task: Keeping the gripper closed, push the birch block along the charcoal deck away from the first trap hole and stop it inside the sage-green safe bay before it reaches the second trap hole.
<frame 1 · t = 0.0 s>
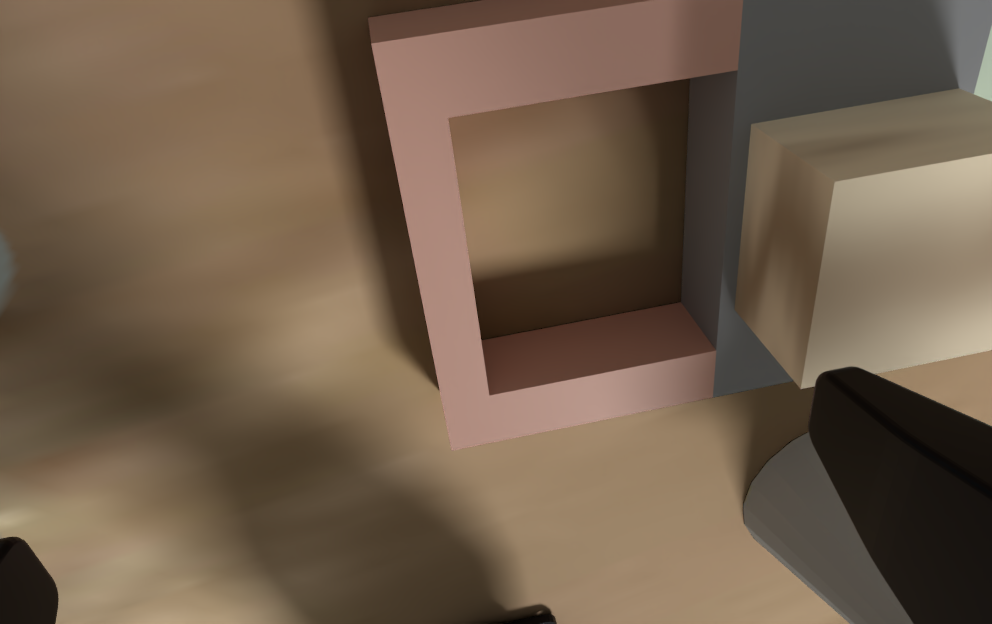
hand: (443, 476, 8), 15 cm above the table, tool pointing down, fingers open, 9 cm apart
lava lamp: (830, 484, 33), on the table
deck: (915, 145, 24), on the table
block: (839, 206, 21), point 3 cm above the table, touching deck
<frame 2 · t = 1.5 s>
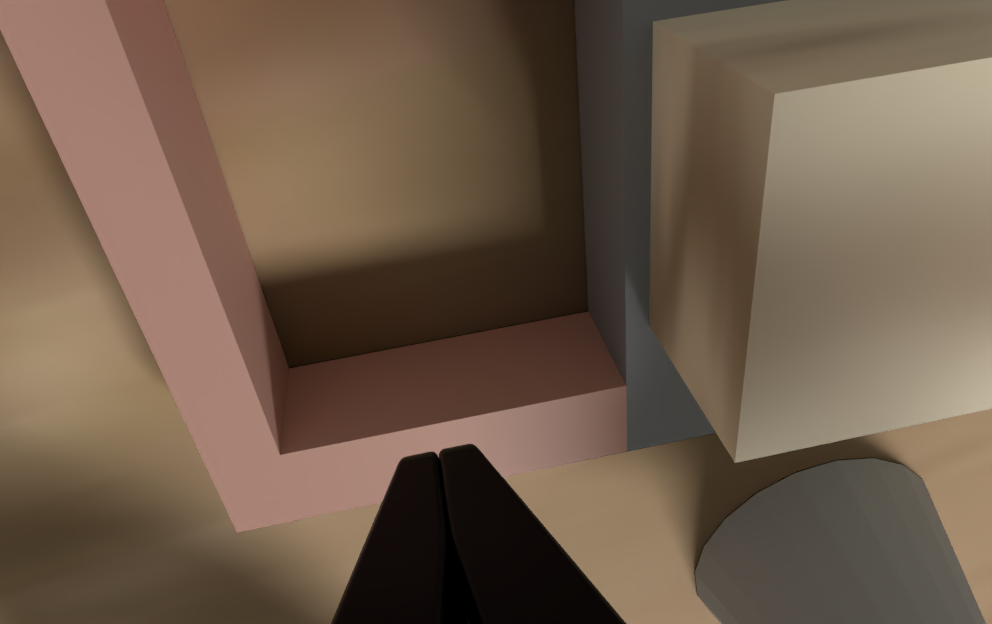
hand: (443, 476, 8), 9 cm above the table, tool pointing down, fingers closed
lava lamp: (809, 544, 26), on the table
deck: (923, 82, 16), on the table
block: (805, 165, 14), point 3 cm above the table, touching deck
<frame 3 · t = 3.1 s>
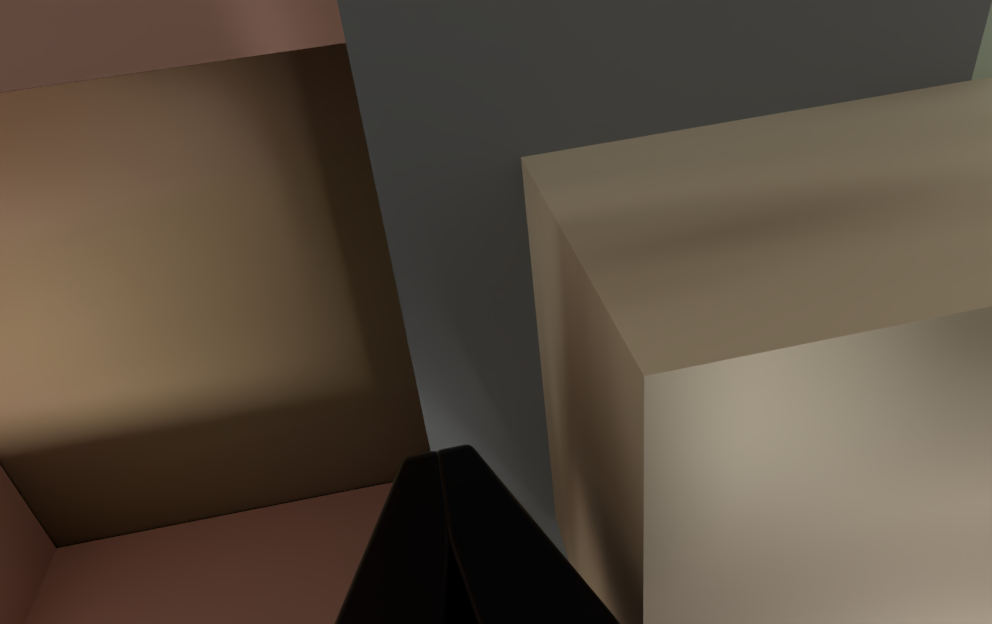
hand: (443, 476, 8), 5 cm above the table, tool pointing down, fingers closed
deck: (856, 203, 13), on the table
block: (754, 326, 10), point 3 cm above the table, touching deck, gripper
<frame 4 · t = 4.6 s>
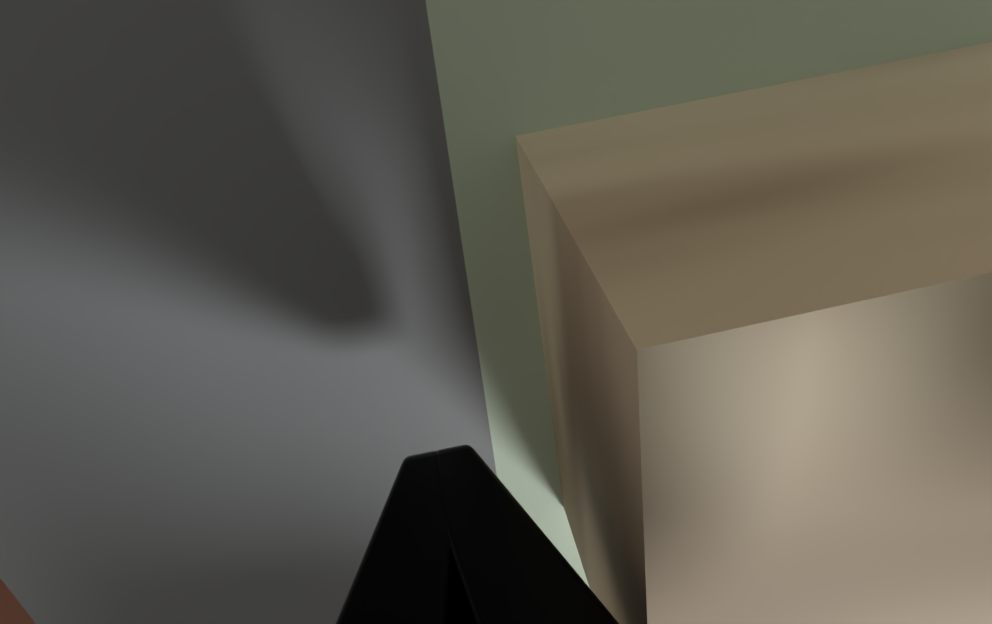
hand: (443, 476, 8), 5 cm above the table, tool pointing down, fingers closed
deck: (514, 260, 12), on the table
block: (761, 306, 10), point 3 cm above the table, touching deck, gripper
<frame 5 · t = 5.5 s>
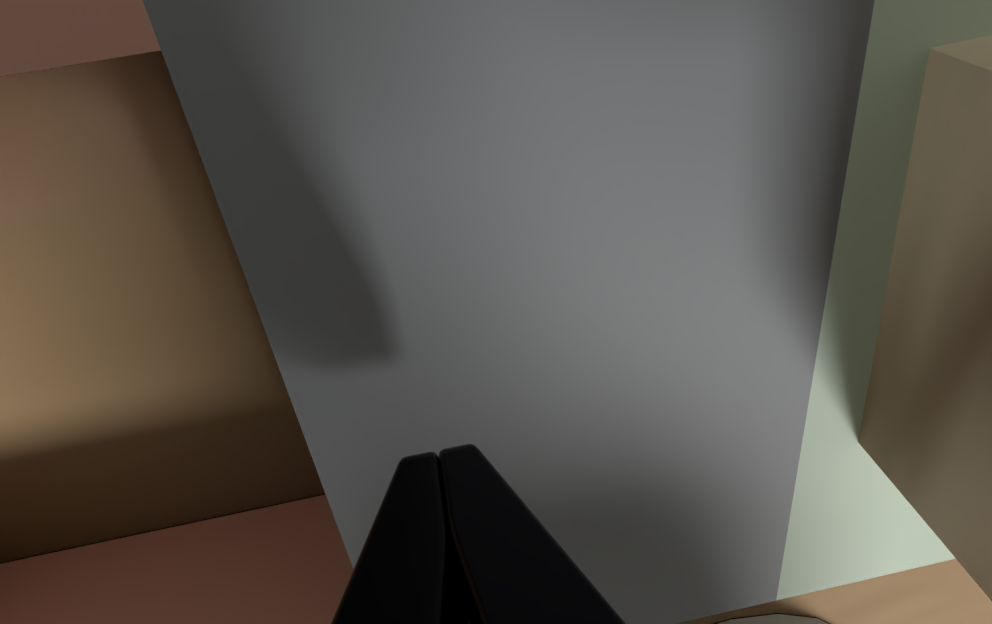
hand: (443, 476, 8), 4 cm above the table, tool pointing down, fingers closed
deck: (783, 201, 12), on the table
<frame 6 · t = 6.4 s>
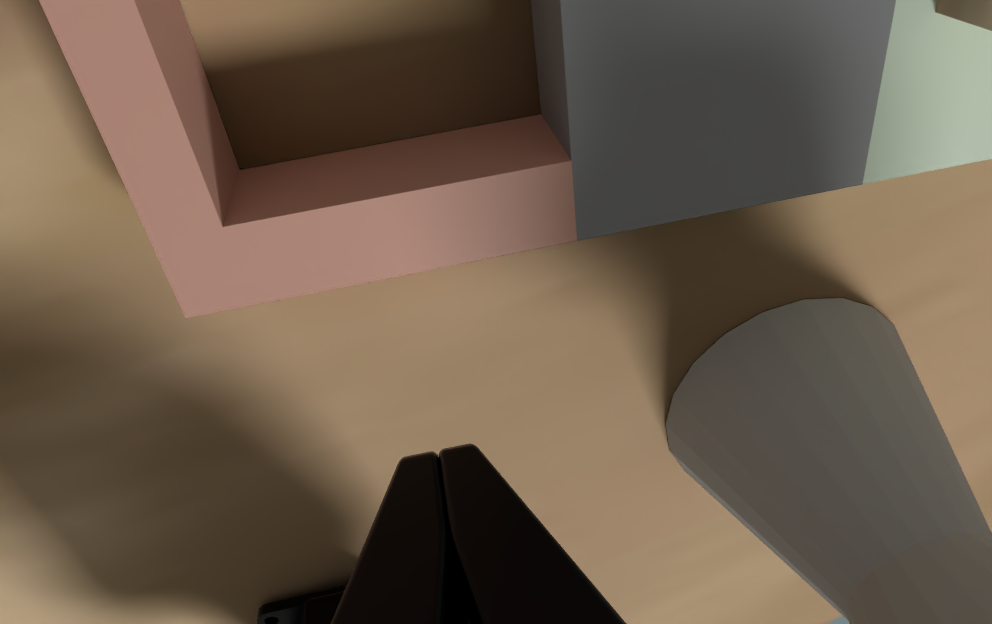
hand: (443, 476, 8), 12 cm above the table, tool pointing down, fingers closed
lava lamp: (781, 397, 26), on the table
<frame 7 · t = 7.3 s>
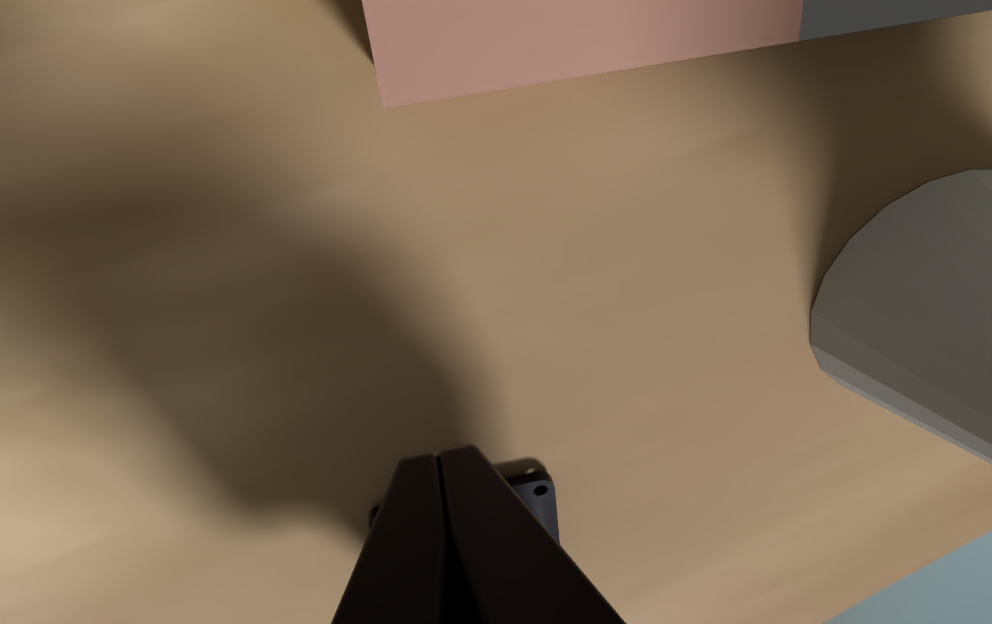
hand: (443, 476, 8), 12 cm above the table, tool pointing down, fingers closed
lava lamp: (929, 288, 24), on the table
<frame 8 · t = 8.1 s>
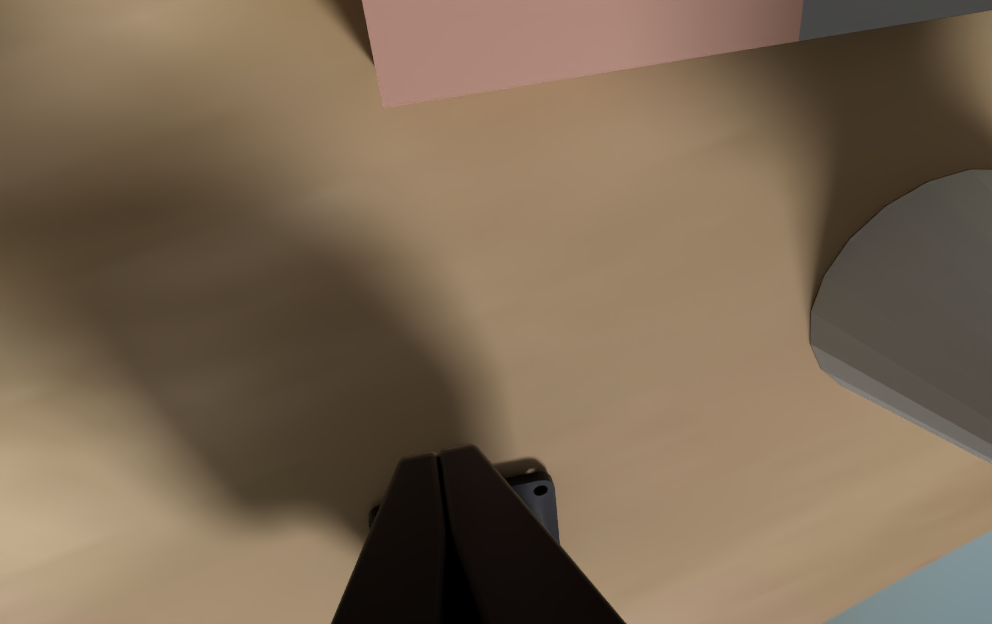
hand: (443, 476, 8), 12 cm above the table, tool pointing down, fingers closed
lava lamp: (929, 288, 24), on the table
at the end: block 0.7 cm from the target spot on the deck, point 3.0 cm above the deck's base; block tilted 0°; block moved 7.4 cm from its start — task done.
